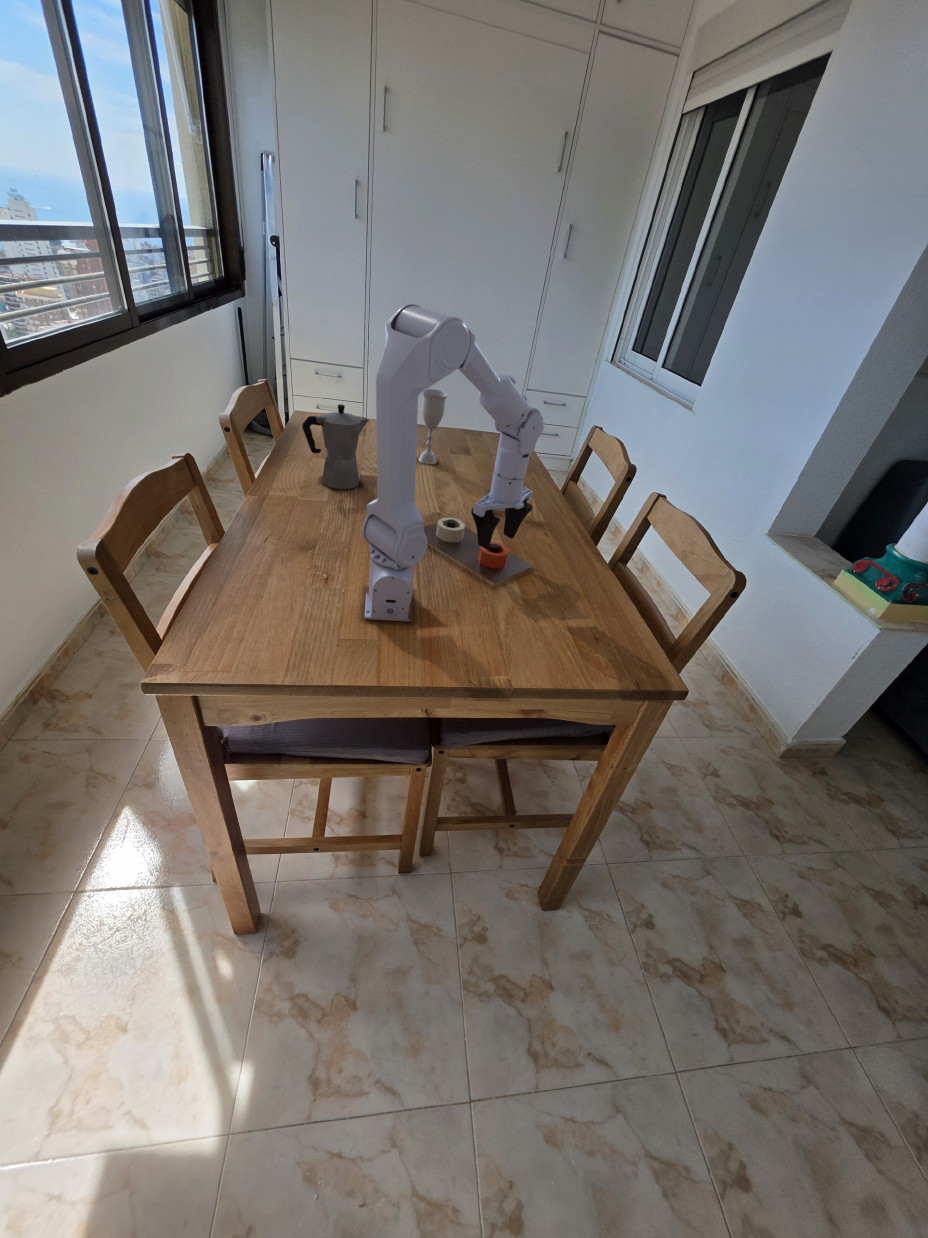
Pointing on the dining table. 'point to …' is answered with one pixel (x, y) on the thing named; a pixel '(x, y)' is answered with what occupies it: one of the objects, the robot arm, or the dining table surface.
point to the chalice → (431, 418)
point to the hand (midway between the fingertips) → (496, 541)
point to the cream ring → (450, 530)
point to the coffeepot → (337, 446)
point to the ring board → (475, 554)
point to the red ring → (493, 556)
